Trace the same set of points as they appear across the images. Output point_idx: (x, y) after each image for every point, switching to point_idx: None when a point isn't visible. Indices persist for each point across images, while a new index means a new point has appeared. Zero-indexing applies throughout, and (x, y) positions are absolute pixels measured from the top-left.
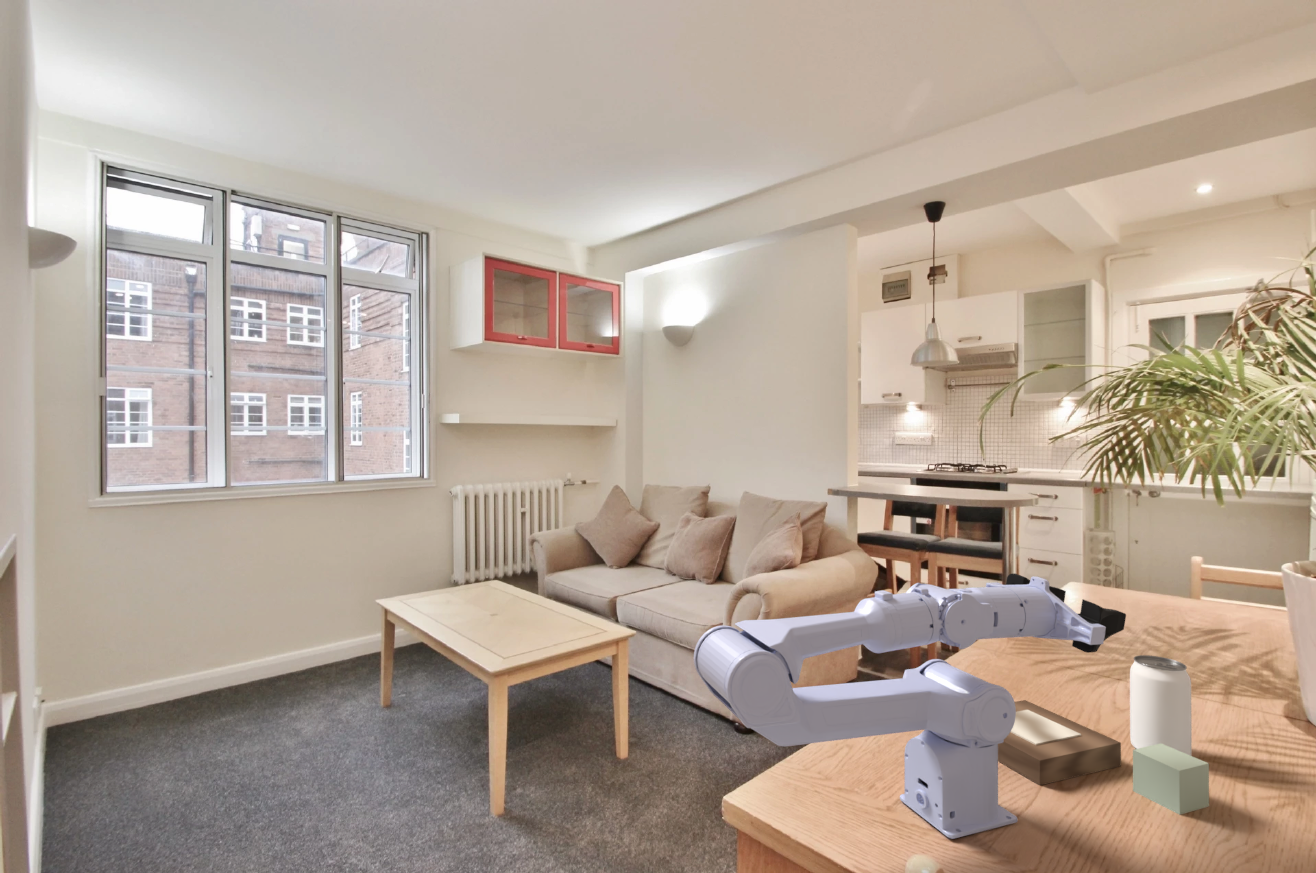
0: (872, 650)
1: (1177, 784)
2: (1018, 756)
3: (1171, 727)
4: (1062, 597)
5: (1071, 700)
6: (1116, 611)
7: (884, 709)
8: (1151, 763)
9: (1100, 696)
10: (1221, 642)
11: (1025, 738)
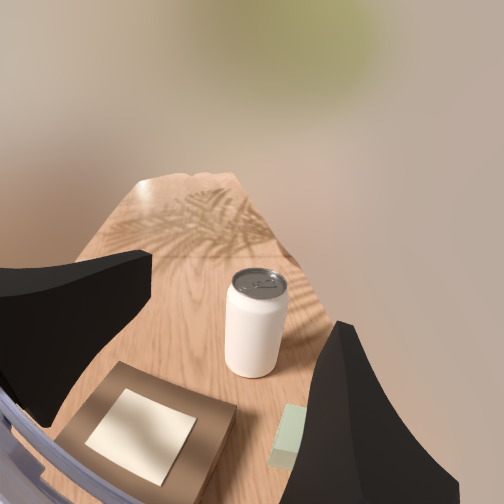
0: None
1: None
2: None
3: (271, 351)
4: (145, 277)
5: (158, 308)
6: (365, 354)
7: None
8: (296, 455)
9: (178, 288)
10: (224, 198)
11: (143, 477)
